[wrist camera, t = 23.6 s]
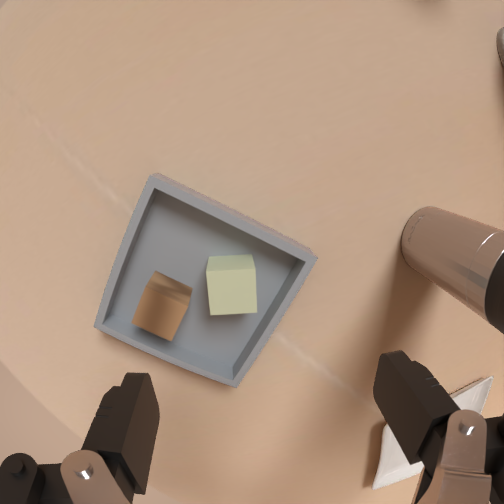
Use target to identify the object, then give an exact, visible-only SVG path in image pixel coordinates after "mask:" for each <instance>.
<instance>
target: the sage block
mask: <svg viewBox="0 0 504 504" xmlns="http://www.w3.org/2000/svg"><path fill="white" fill-rule="evenodd" d="M206 277H207V287H208V297H209V307H210V315H225V314H242V313H257V295H256V269H255V265H254V260H253V256H252V254H245V255H228V256H211V257H209V258H208V264H207V269H206Z"/></svg>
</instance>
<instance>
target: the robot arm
mask: <svg viewBox="0 0 504 504" xmlns="http://www.w3.org/2000/svg"><path fill="white" fill-rule="evenodd" d="M401 246H402V253H403V256H404V259H405V260H406V262H407V263H408V265H409V266H410V267H412V268H413V269H415V270H416V271H418V272H419V273H421V274H422V275H423V276H425V277H426V278H428V279H429V280H431V281H432V282H433V283H435V284H436V285H438V286H439V287H441V288H442V289H443V290H445V291H446V292H448V293H449V294H450V295H452V296H453V297H455V298H456V299H457V300H459V301H460V302H462V303H463V304H464V305H466V306H467V307H468V308H470V309H471V310H472V311H474V312H475V313H477V314H478V315H479V316H481V317H482V318H483V319H485V320H486V321H487V322H489V323H490V324H491V325H493V326H494V327H495V328H497V329H498V330H499V331H500V332H502V333H503V334H504V231H503V230H500V229H497V228H495V227H492V226H489V225H486V224H484V223H481V222H478V221H475V220H472V219H469V218H466V217H463V216H460V215H457V214H454V213H452V212H449V211H445V210H442V209H439V208H436V207H425V208H423V209H420V210H419V211H417V212H416V213H415V214H414V215H413V216H412V217H411V218H410V219H409V221H408V222H407V224H406V226H405V229H404V231H403V235H402V243H401ZM373 394H374V399H375V402H376V404H377V405H378V407H379V409H380V411H381V413H382V414H383V416H384V418H385V420H386V422H387V423H388V425H389V427H390V429H391V431H392V433H393V434H394V436H395V438H396V440H397V442H398V444H399V445H400V447H401V449H402V451H403V453H404V455H405V457H406V458H407V460H408V462H409V464H410V465H412V464H415V463H418V462H421V461H422V463H423V465H424V467H423V468H422V471H421V474H420V478H419V481H418V484H417V487H416V491H415V494H414V497H413V500H412V503H411V504H489V501H490V502H491V504H504V414H503V415H502V416H500V417H493V418H486V419H484V418H483V416H481V415H480V414H479V413H477V412H475V411H473V410H467V409H463V410H461V409H460V408H459V407H458V405H457V404H456V403H455V402H454V400H453V399H452V398H451V397H450V395H449V394H448V393H447V392H446V390H445V389H444V388H443V387H442V386H441V385H439V382H438V381H437V380H436V378H434V376H433V375H432V374H431V372H430V371H429V370H428V369H427V368H426V367H425V366H423V365H422V364H420V363H418V362H417V361H411V360H410V359H409V358H408V356H407V355H406V354H405V353H404V352H403V351H402V350H399V351H394V352H389V353H384V354H382V355H381V356H380V359H379V363H378V368H377V373H376V377H375V382H374V386H373ZM159 418H160V413H159V405H158V402H157V398H156V395H155V392H154V388H153V385H152V381H151V378H150V375H149V374H148V373H126V375H125V377H124V379H123V382H122V384H121V387H120V386H113V387H112V388H111V389H110V390H109V391H108V392H107V393H106V394H105V395H104V396H103V398H102V401H101V403H100V405H99V408H98V410H97V412H96V417H94V419H93V422H92V424H91V426H90V429H89V431H88V434H87V436H86V439H85V441H84V444H83V446H82V448H81V450H78V451H75V452H73V453H71V454H69V455H68V456H67V457H66V458H65V459H64V460H63V462H62V463H59V464H41V465H38V464H37V463H36V462H35V460H34V459H33V458H32V457H31V456H29V455H27V454H24V453H16V454H12V455H10V456H8V457H7V458H6V459H5V460H4V461H3V463H2V464H1V466H0V504H132V501H133V496H134V493H136V494H143V495H144V494H145V492H146V486H147V481H148V476H149V470H150V465H151V460H152V454H153V449H154V444H155V439H156V434H157V430H158V425H159Z"/></svg>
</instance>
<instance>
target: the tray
mask: <svg viewBox="0 0 504 504" xmlns="http://www.w3.org/2000/svg"><path fill="white" fill-rule="evenodd" d="M245 254H252V256H253V260H254V265H255V269H256V295H257V313H242V314H225V315H210V307H209V297H208V287H207V277H206V269H207V264H208V258H209V257H211V256H228V255H245ZM317 259H318V258H317V256H316V255H315V254H314V253H313V252H312V251H311V249H310V248H308V247H306V246H304V245H302V244H300V243H299V242H297V241H295V240H293V239H291V238H289V237H287V236H285V235H283V234H281V233H279V232H277V231H275V230H273V229H271V228H269V227H267V226H265V225H263V224H261V223H259V222H257V221H255V220H253V219H251V218H249V217H247V216H245V215H243V214H241V213H239V212H237V211H235V210H233V209H231V208H229V207H227V206H225V205H223V204H221V203H219V202H217V201H215V200H213V199H211V198H209V197H207V196H205V195H203V194H201V193H199V192H197V191H195V190H193V189H191V188H188V187H186V186H184V185H182V184H180V183H178V182H176V181H174V180H172V179H170V178H168V177H165V176H163V175H161V174H159V173H156V174H152V175H150V176H149V178H148V180H147V182H146V185H145V187H144V189H143V191H142V194H141V196H140V198H139V201H138V203H137V205H136V208H135V210H134V213H133V215H132V217H131V220H130V222H129V225H128V227H127V230H126V232H125V235H124V238H123V240H122V243H121V245H120V248H119V251H118V254H117V256H116V259H115V262H114V265H113V267H112V270H111V273H110V276H109V279H108V282H107V285H106V288H105V291H104V294H103V297H102V300H101V303H100V307H99V310H98V313H97V316H96V320H95V323H94V327H95V328H97V329H99V330H101V331H103V332H105V333H107V334H109V335H111V336H113V337H115V338H117V339H119V340H121V341H123V342H125V343H127V344H129V345H131V346H133V347H136V348H138V349H140V350H142V351H144V352H147V353H149V354H151V355H153V356H156V357H158V358H160V359H162V360H165V361H167V362H170V363H172V364H174V365H177V366H179V367H182V368H184V369H187V370H189V371H192V372H194V373H197V374H199V375H202V376H205V377H207V378H210V379H213V380H215V381H218V382H221V383H224V384H226V385H229V386H232V387H235V388H237V387H238V385H239V384H240V382H241V381H242V379H243V378H244V376H245V375H246V373H247V372H248V370H249V369H250V367H251V366H252V364H253V363H254V361H255V360H256V358H257V356H258V355H259V353H260V352H261V350H262V349H263V347H264V346H265V344H266V343H267V341H268V339H269V338H270V336H271V335H272V333H273V332H274V330H275V328H276V327H277V325H278V324H279V322H280V320H281V319H282V317H283V316H284V314H285V312H286V311H287V309H288V307H289V306H290V304H291V303H292V301H293V299H294V298H295V296H296V294H297V293H298V291H299V289H300V288H301V286H302V284H303V283H304V281H305V279H306V278H307V276H308V274H309V273H310V271H311V269H312V267H313V266H314V264H315V262H316V261H317ZM155 271H158V272H160V273H162V274H164V275H166V276H168V277H170V278H172V279H174V280H176V281H179V282H181V283H183V284H185V285H187V286H189V287H191V288H193V289H192V293H191V297H190V301H189V305H188V308H187V310H186V312H185V314H184V316H183V318H182V320H181V322H180V324H179V326H178V328H177V331H176V333H175V335H174V337H173V339H172V341H169V340H167V339H165V338H163V337H160V336H158V335H156V334H154V333H152V332H149V331H147V330H145V329H143V328H141V327H139V326H137V325H134V324H132V323H131V322H132V319H133V317H134V314H135V312H136V309H137V306H138V304H139V301H140V299H141V296H142V294H143V291H144V289H145V286H146V285H147V283H148V282H149V280H150V278H151V277H152V275H153V273H154V272H155Z"/></svg>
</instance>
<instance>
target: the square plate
mask: <svg viewBox="0 0 504 504" xmlns="http://www.w3.org/2000/svg"><path fill="white" fill-rule="evenodd" d="M493 378H494V377H493V376H490V377H486V378H483V379H481V380H478V381H476V382H474V383H472V384H470V385H468V386H466V387H464V388H463V389H461V390H459V391H457V392H455V393H453V394H451V395H450V397H451V398H452V399H453V400H454V402H455V403H456V404H457V405H458V407H459V408H460V409H461V410H463V409H467V410H473V411H475V412H477V413H479V414H480V415H481V413H482V410H483V407H484V405H485V402H486V399H487V397H488V394H489V391H490V388H491V385H492V381H493ZM423 467H424V465H423V463H422V461H421V462H418V463H415V464H412V465H410V464H409V462H408V460H407V458H406V457H405V455H404V453H403V451H402V449H401V447H400V445H399V444H398V442H397V440H396V438H395V436H394V434H393V433H392V431H391V429H390V427H389V425H388V423H387V424H386V425H385V426H384V429H383V433H382V444H381V453H380V460H379V464H378V468H377V472H376V475H375V478H374V481H373V484H372V490H375V489H378V488H381V487H384V486H387V485H390V484H393V483H396V482H399V481H401V480H404V479H407V478H409V477H412V476H414V475H416V474H419V473H421V471H422V468H423Z"/></svg>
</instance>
